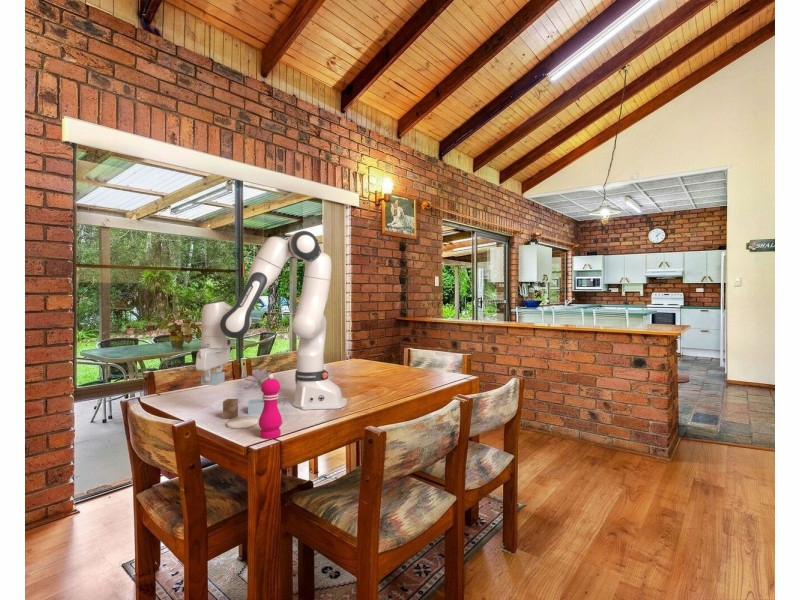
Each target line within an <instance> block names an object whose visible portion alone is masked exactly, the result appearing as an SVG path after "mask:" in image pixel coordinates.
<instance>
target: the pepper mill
mask: <svg viewBox="0 0 800 600" xmlns="http://www.w3.org/2000/svg"><path fill="white" fill-rule="evenodd" d="M262 382H263V383H262V384H261V386H260V391H261V392H262V393H263V394H262V398H261V399H263V400H264V407H263V411H262V413H260V416H259V418H258V427H259V428H260V429H261V430H259V431H260V435H259V436H260V438H261V439H264V440H271V438H272V439H276V437H277V438H279V437H281V428H280V427H281V426H282V425H283V419H282V418H283V417H282V414H281V413H280V410H279V407H278V399H279V392H280V390H281V383H280V381H278V380H277V379H275V378H274V375H273V373H271V374H269V375H268V377H267V378H266V379H264V381H263V380H262Z"/></svg>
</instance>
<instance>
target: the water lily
mask: <svg viewBox="0 0 800 600" xmlns="http://www.w3.org/2000/svg"><path fill="white" fill-rule="evenodd" d="M267 370H268V366H265V367H264V369H261V370H260V369H259V368H257V369H253V370H252V375H246V377H244V380H246V381H248V382H249V383H247V384H246V386H245V387H244V388H243V390H245V389H249V388H251V387H253V386H254V385H256V384H257V386H259V385H260V386H259V387H261V384H262V383H263V380H266V379H268V375H269V374H273V373H272V371H270V372H267Z"/></svg>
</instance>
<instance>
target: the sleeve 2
mask: <svg viewBox="0 0 800 600" xmlns="http://www.w3.org/2000/svg"><path fill="white" fill-rule="evenodd" d="M263 407H264V400H263V399H262V398H258V399H257V398H256V399H248V401H247V415H255V414H261V413H262V411H263Z"/></svg>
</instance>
